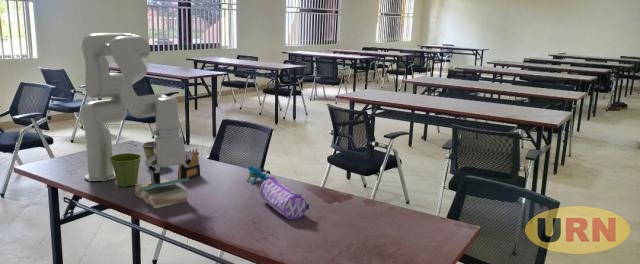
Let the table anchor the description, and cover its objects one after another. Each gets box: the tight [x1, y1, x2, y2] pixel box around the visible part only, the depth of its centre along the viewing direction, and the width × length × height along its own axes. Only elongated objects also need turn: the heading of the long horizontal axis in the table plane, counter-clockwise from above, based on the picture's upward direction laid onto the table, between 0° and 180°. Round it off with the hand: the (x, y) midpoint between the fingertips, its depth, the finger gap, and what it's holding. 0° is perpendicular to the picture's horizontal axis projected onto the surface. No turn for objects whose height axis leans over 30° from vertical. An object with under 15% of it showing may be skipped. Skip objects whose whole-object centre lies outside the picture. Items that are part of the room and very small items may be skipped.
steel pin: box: [150, 169, 161, 185], centre depth 195 cm, size 3×3×10 cm
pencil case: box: [259, 175, 310, 220], centre depth 184 cm, size 22×9×10 cm, turn 32°
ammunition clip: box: [177, 148, 201, 180], centre depth 216 cm, size 11×2×12 cm, turn 147°
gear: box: [246, 165, 269, 185], centre depth 213 cm, size 11×6×10 cm
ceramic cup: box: [142, 140, 155, 166], centre depth 231 cm, size 13×10×10 cm
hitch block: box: [134, 178, 188, 209], centre depth 193 cm, size 18×12×4 cm, turn 40°
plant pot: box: [110, 152, 143, 188], centre depth 206 cm, size 12×12×11 cm
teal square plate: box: [141, 178, 190, 190], centre depth 189 cm, size 12×13×1 cm
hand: (170, 180), depth 185 cm, fingers open, 9 cm apart
